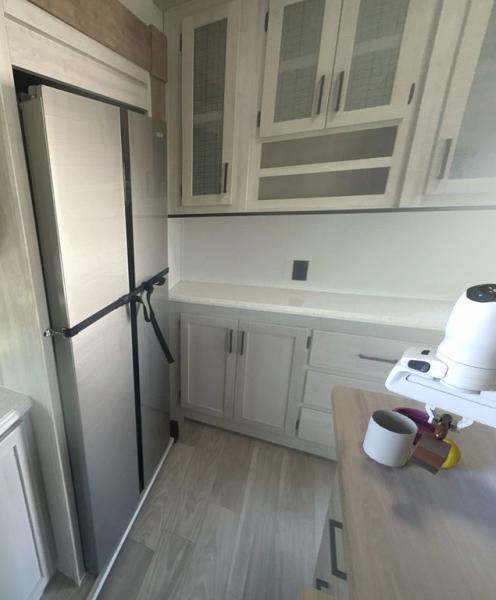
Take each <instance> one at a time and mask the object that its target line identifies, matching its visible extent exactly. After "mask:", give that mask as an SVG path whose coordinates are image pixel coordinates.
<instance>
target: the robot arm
mask: <svg viewBox="0 0 496 600" xmlns="http://www.w3.org/2000/svg"><path fill="white" fill-rule="evenodd" d="M444 334H445V335H444V338H443V340H442V341H441V342H440V343H439V345H438V347H434V346H433V347H432V346H431V347H430V346H428V347H427V346H410V347H409V348H407V349H406V350H405V351H404V353H403V354H402V356H401V358H400V359H399V360H398V361H397V362H396V363H395V365H394V366H393V368H392V369H391V371H390V373H389V374H388V376H387V377H386V380H385V383H384V386H385V387H386V389H387V390H388V392H392V393H395V394H398V395H401V396H403V397H406V398H409V399H412V400H414V401H417V402H420V403H423V404H425V407H424V409H425V410H426V413H427V414H429V416H430V418H429V420H428V422H429V423H431V424H434V425H438V423H439V421H440V419H441V416H442V414H438V413H437V412H436V408H437V409H440V410H443V411H446V412H449V413H450V414H451V413H452V414H454V415H457V416H460V417H462V419H461V420H454V419H453V420H452V422H451V424H450V427H449V430H448V431H450V432H453V433H455V434H458V435H459V434H460V433H461V430H462V429H464V428H467V427H469V426H472V425H473V424H474V422H477V423H479V424H482V425H484V426H488V427H491V428H494V429H496V283H482V284H476V285H473V286H470V287H468V288H466V289H465V290H464V291H463V292H462V293H461V295H459V297H458V298H457V300H456V302H455V303H454V305H453V307H452V309H451V311H450V313H449V315H448V318H447V321H446V323H445V326H444Z"/></svg>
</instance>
